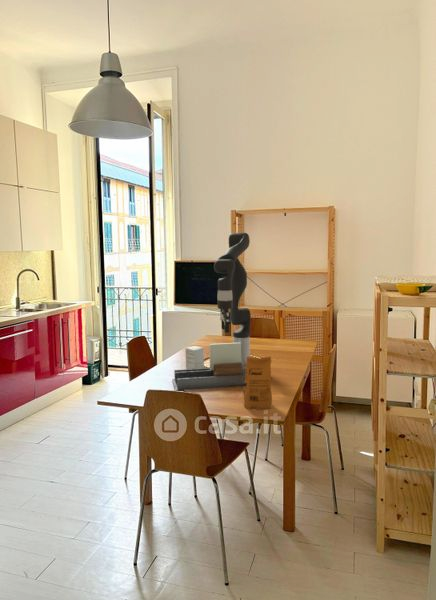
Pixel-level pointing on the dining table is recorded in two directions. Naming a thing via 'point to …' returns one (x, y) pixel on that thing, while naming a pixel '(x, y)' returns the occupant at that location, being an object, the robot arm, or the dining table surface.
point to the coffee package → (258, 383)
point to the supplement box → (194, 357)
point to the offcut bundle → (227, 369)
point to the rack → (205, 379)
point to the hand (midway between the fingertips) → (225, 330)
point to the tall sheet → (225, 353)
